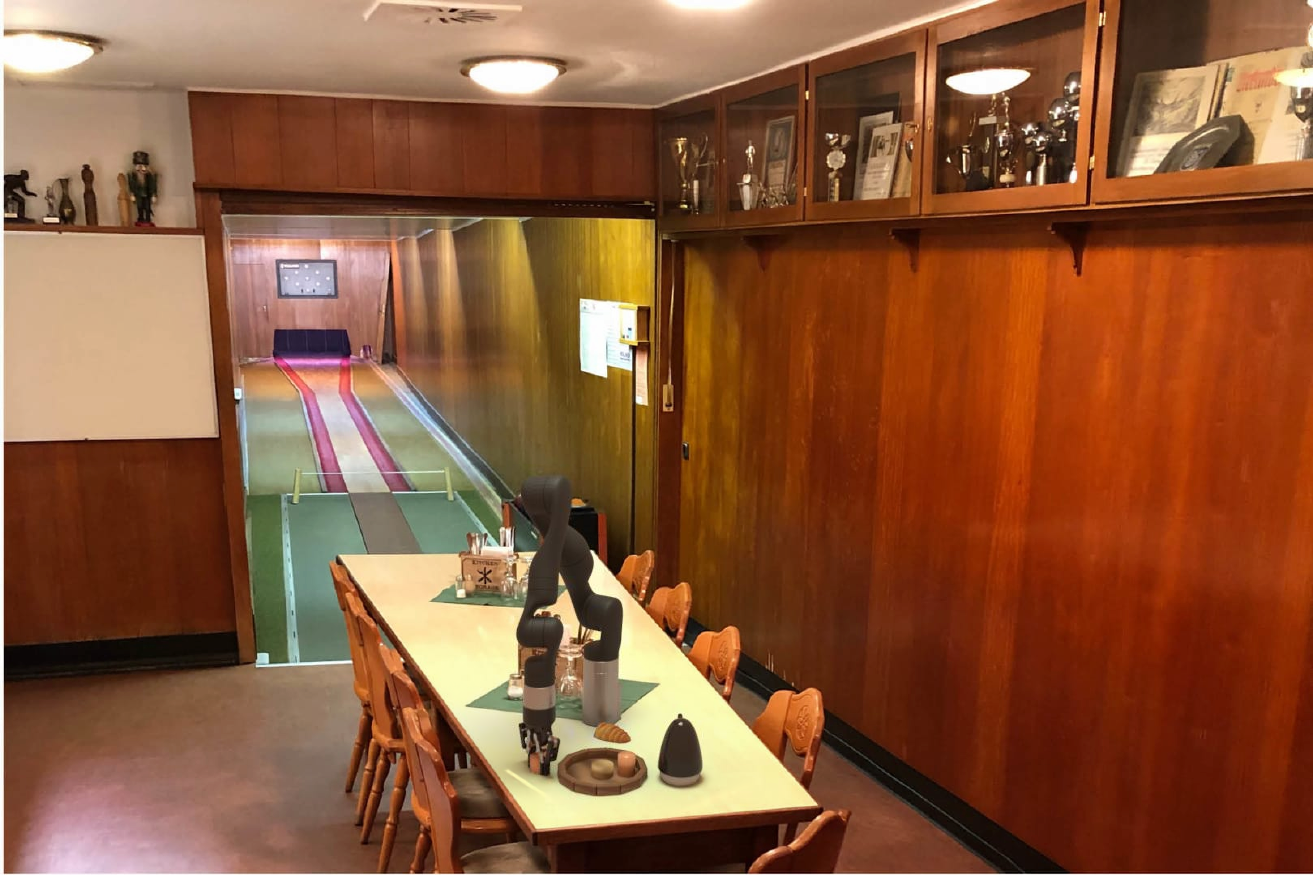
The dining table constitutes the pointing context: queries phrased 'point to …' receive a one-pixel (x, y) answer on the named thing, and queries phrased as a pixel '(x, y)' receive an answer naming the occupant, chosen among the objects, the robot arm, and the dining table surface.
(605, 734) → the pastry
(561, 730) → the dining table surface
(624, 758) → the bead
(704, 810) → the dining table surface
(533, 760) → the bead
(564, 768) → the tray
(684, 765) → the black tapered dome
